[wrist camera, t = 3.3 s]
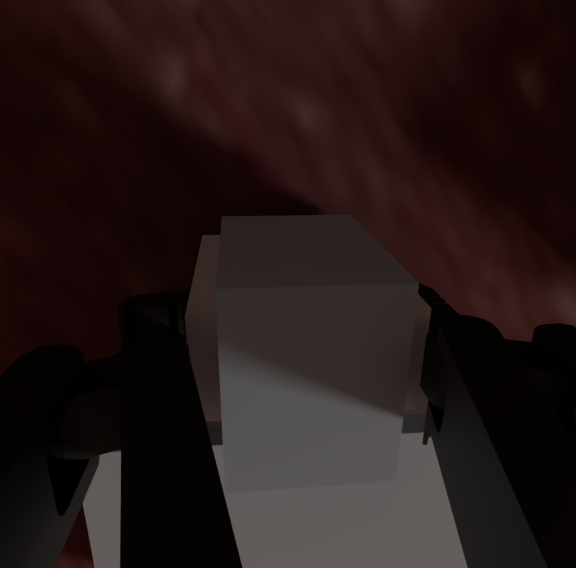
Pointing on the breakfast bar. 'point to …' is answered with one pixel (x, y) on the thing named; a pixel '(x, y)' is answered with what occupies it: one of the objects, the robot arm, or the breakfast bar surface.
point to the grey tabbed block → (312, 407)
